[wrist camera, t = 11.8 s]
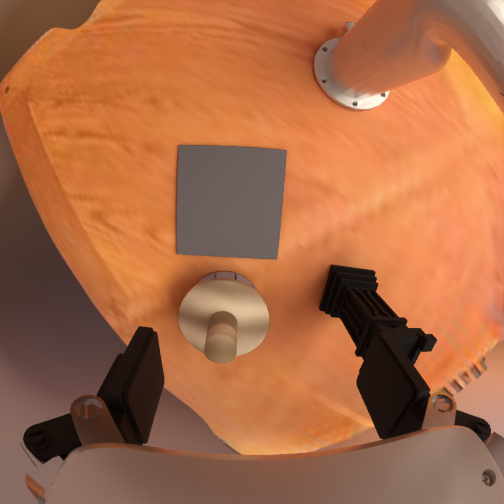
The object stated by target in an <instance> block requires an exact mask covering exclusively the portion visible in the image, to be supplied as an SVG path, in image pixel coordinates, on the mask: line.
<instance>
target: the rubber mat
mask: <svg viewBox="0 0 504 504" xmlns="http://www.w3.org/2000/svg"><path fill="white" fill-rule="evenodd" d="M286 154H287V150H278V149H266V148H253V147H235V146H206V145H179V155H178V178H177V254H183V255H201V256H220V257H239V258H258V259H277V256H278V246H279V236H280V226H281V215H282V204H283V192H284V180H285V167H286Z"/></svg>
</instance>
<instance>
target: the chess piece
mask: <svg viewBox="0 0 504 504" xmlns="http://www.w3.org/2000/svg"><path fill="white" fill-rule="evenodd" d="M375 273H376V272H375V271H373V270H366V269H359V268H352V267H345V266H338V265H331V268H330V272H329V276H328V279H327V283H326V286H325V290H324V293H323V297H322V300H321V304H320V307H319V309H320V311H324V312H325V314H330V316H331V317H337V318H340V319H341V320H342V322H343V324H344V326H345V327H346V329H347V331H348V333H349V335H350V336H351V338H352V340H353V342H354V343H355V345H356V347H357V348H356V351H355V354H356V356H357V357H361V356H362V358H363V360H365V357H366V354H367V351H368V349H369V346H370V343H371V340H372V338H373V337H374V336H375V335H376V334H377V333H386V332H388V333H390V334H391V335H392V337H393V338H394V339H395V341H396V342H397V343H398V345H399V346H400V347H401V349H402V350H403V351H404V353H405V354H406V356H407V357H408V358H409V360H410V361H411V362H412V364H413V365H414V364H415V362H416V360H417V358H418V356H419V354H420V353H421V351H422V352H427V351H432V349H433V347H434V345H435V343H436V341H437V339H436V338H435V337H434V336H433V335H432V334H425V333H424V332H423V331H422V329H421V328H408V327H407V326H406V324H407V320H406V318H400V317H398V316H397V315H396V314H395V312H394V311H393V310H392V309H391V308H390V307H389V306H388V305H387V303H386V302H385V301H384V300H383V299H382V298H381V297H380V296H379V295H378V294H377V293H376V290H377V287H378V283H377V282H376V280H377V278H376V277H375ZM362 365H363V364H362ZM361 367H362V366H361ZM360 370H361V368H360ZM360 370H359V372H360Z"/></svg>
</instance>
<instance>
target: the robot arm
mask: <svg viewBox="0 0 504 504" xmlns="http://www.w3.org/2000/svg"><path fill="white" fill-rule="evenodd" d="M346 30H347V32H345V34H344V35H343V36H342V37H338V38H334V39H331V40H329V41H327V42H325V43H324V44H323V45H322V46H321V47H320V48H319V49H318V51H317V53H316V55H315V58H314V67H313V68H314V73H315V77H316V79H317V82H318V84H319V85H320V87H321V89H322V90H323V91H324V92H325V94H326V95H327V96H328V97H330V98H331V99H332V100H333V101H335V102H336V103H338V104H339V105H341V106H343V107H346V108H348V109H352V110H360V111H363V110H369V109H373V108H375V107H377V106H379V105H380V104H382V103H383V102H384V101H385V100H386V98H387V97H388V94H389V92H390V90H392V89H395V88H397V87H400V86H402V85H405V84H407V83H410V82H413V81H415V80H418V79H421V78H424V77H427V76H429V75H432V74H435V73H437V72H438V71H440V70H441V69H442V68H443V67H444V66H445V65H446V64H447V62H448V60H449V58H450V55H451V51H452V48H453V49H454V50H455V51H456V52H457V53H458V54H459V55H460V56H461V58H462V59H463V60H464V61H465V62H466V63H467V64H468V65H469V66H470V68H471V69H472V70H473V72H474V73H475V74H476V76H477V77H478V78H479V80H480V81H481V82H482V84H483V85H484V86H485V88H486V89H487V91H488V92H489V94H490V95H491V97H492V98H493V99H494V101H495V102H496V104H497V105H498V107H499V108H500V110H501V111H502V113H503V114H504V0H377V1H376V2H375V3H374V4H373V5H372V6H371V7H370V8H369V9H368V11H367V12H366V13H365V14H364V15H363V16H362V17H361V18H360V19H359V20H358V21H357V22H356V23H355V24H354V23H353V22H347V23H346ZM323 50H324V51H323ZM322 81H324V82H325V83H323V82H322ZM381 95H382V96H381ZM352 103H353V104H354V106H353V105H352ZM163 386H164V373H163V367H162V361H161V355H160V348H159V341H158V334H157V332H155V331H153V328H150V327H141V326H139V327H138V329H137V330H136V332H135V334H134V336H133V338H132V340H131V341H130V343H129V345H128V347H127V349H126V351H125V353H124V354H119V355H118V356H117V358H116V359H115V361H114V363H113V365H112V367H111V369H110V371H109V372H108V374H107V376H106V378H105V380H104V382H103V384H102V385H101V387H100V390H99V391H98V393H97V395H96V396H94V395H83V396H81V397H79V398H77V399H75V400H74V401H73V403H72V404H71V407H70V413H69V414H66V415H64V416H61V417H57V418H54V419H51V420H48V421H45V422H42V423H39V424H35V425H33V426H31V427H29V428H28V429H27V430H26V432H25V433H24V437H23V441H22V442H21V443H19V441H16V442H15V443H13V444H12V445H10V446H9V447H7V448H6V449H4V450H2V451H1V452H0V498H1V499H2V501H3V502H4V504H504V438H503V437H502V436H500V435H499V434H497V433H495V432H493V433H492V434H491V428H490V425H489V424H488V423H487V422H486V421H485V420H484V419H481V418H479V417H475V416H473V415H470V414H467V413H464V412H461V411H458V410H456V402H455V400H454V399H453V398H452V397H451V396H450V395H449V394H446V393H444V392H436V393H433V394H432V395H430V393H429V392H430V388H429V387H428V385H427V384H426V382H425V381H424V379H423V378H422V377H421V375H420V374H419V372H418V371H417V369H416V368H415V367H414V365H413V364H412V362H411V361H410V360H409V358H408V357H407V356H406V354H405V353H404V351H403V350H402V349H401V347H400V346H399V345H398V343H397V342H396V341H395V339H394V338H393V337H392V335H391V334H390V333H388V332H386V333H377V334H376V335H375V336H374V337H373V338H372V340H371V343H370V346H369V349H368V351H367V354H366V357H365V360H364V362H363V365H362V367H361V370H360V373H359V375H358V378H357V387H358V389H359V392H360V394H361V396H362V398H363V401H364V403H365V405H366V407H367V410H368V412H369V414H370V416H371V419H372V421H373V423H374V426H375V428H376V430H377V433H378V435H379V437H380V438H381V439H383V440H380V441H376V442H372V443H366V444H362V445H357V446H351V447H345V448H339V449H333V450H325V451H317V452H307V453H296V454H279V455H225V454H207V453H197V452H187V451H178V450H170V449H163V448H157V447H150V446H143V443H145V444H146V443H147V442H148V438H149V435H150V431H151V427H152V423H153V420H154V416H155V413H156V409H157V406H158V403H159V399H160V395H161V392H162V389H163ZM52 480H54V481H53V482H52ZM51 484H52V485H51ZM50 485H51V488H50V491H49V494H48V496H47V499H45V490H46V489H47V488H48V486H50Z"/></svg>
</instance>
